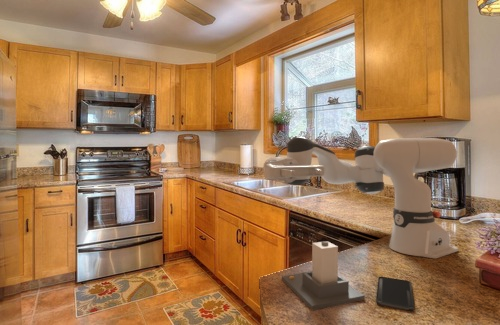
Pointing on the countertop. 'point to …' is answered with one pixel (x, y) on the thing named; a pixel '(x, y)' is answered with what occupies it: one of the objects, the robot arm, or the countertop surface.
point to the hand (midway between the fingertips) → (306, 172)
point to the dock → (322, 291)
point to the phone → (395, 294)
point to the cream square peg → (324, 262)
